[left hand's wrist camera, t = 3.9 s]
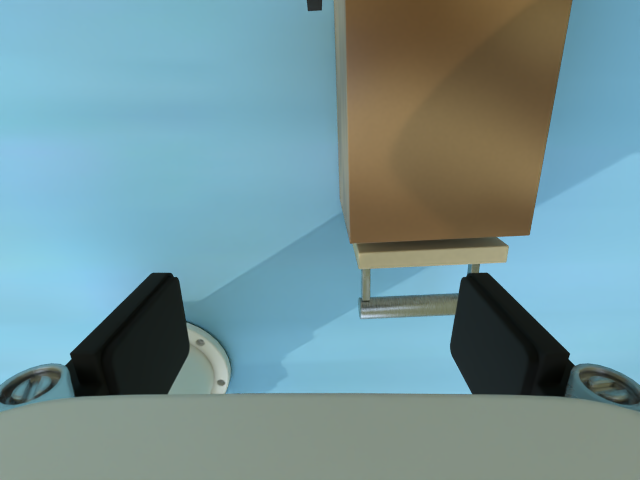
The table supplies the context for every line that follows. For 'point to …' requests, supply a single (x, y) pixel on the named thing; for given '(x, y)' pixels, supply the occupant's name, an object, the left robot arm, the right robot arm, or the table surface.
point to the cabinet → (444, 114)
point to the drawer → (421, 255)
